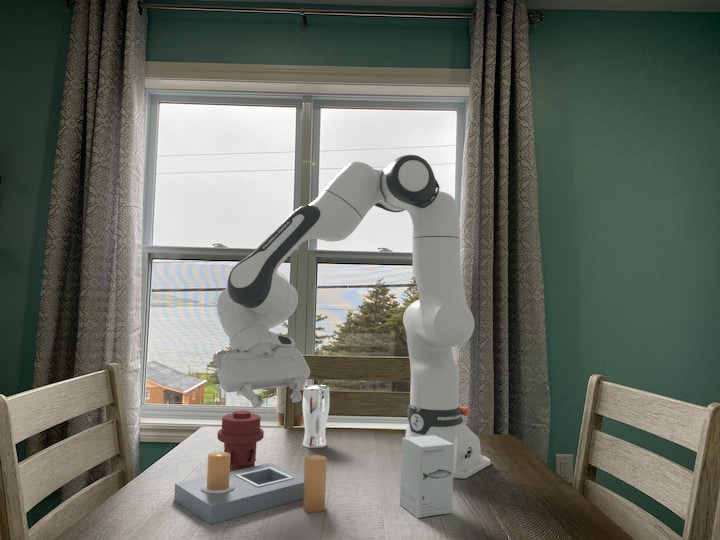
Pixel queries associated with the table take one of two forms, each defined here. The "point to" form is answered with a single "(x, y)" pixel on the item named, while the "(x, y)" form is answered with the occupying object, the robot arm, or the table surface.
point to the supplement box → (427, 475)
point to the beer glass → (315, 415)
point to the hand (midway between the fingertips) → (278, 402)
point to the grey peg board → (237, 489)
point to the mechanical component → (241, 438)
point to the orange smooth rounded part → (314, 483)
